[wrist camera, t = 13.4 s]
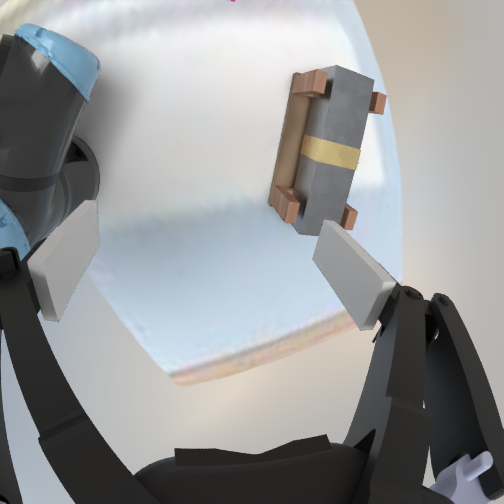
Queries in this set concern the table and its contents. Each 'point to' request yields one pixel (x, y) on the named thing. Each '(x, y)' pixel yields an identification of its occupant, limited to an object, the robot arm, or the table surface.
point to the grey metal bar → (331, 149)
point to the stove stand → (293, 140)
